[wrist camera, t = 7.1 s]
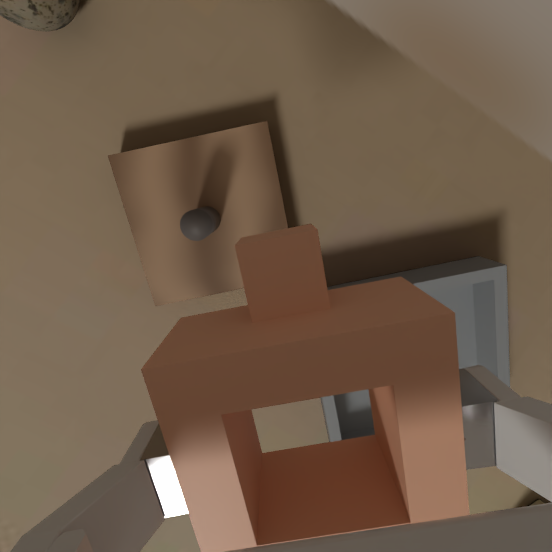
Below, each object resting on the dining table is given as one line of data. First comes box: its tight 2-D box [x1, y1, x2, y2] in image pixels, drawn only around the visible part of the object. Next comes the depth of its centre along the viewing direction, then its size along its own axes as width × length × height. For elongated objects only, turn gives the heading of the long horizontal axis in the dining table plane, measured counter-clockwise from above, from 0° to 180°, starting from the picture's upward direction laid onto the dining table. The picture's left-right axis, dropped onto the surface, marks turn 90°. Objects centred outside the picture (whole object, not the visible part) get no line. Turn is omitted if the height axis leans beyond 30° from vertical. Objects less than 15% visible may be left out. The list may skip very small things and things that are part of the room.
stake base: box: [108, 121, 288, 306], centre depth 25 cm, size 12×12×6 cm
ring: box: [141, 224, 469, 552], centre depth 9 cm, size 7×9×3 cm
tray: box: [321, 256, 510, 442], centre depth 30 cm, size 16×16×4 cm
